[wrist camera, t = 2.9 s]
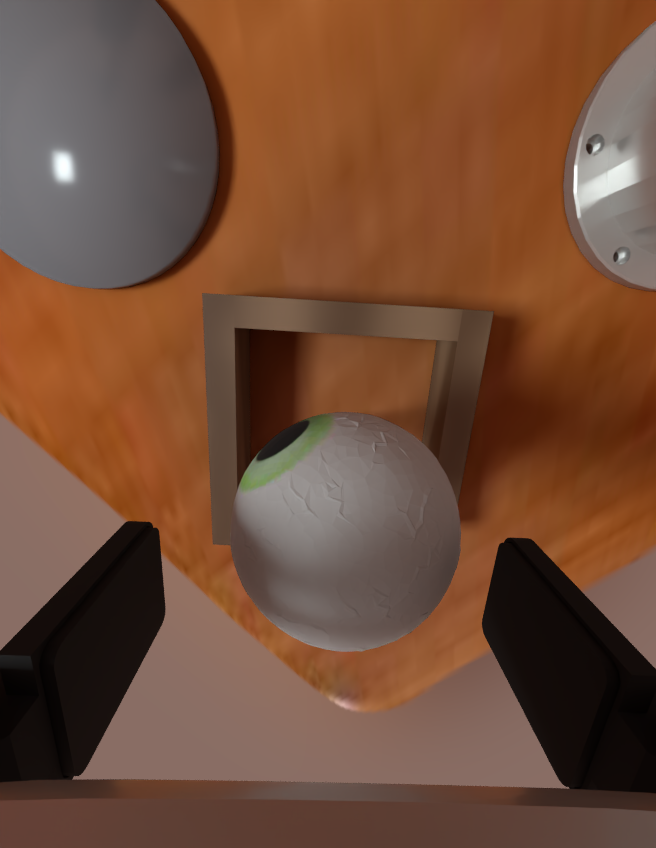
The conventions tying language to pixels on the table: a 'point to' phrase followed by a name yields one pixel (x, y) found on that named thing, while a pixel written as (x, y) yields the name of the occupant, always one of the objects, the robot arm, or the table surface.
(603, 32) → the table surface
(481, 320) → the frame
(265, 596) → the eyeball on stick
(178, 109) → the gray round disc
